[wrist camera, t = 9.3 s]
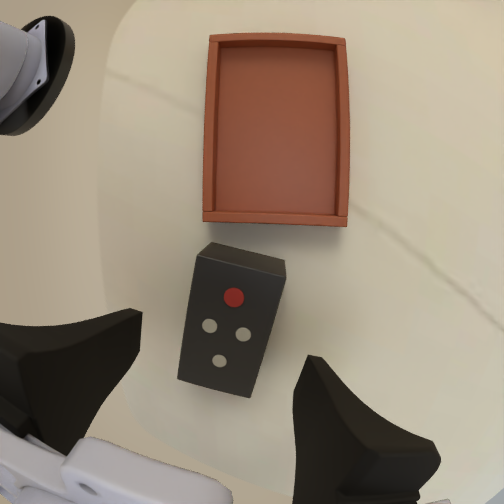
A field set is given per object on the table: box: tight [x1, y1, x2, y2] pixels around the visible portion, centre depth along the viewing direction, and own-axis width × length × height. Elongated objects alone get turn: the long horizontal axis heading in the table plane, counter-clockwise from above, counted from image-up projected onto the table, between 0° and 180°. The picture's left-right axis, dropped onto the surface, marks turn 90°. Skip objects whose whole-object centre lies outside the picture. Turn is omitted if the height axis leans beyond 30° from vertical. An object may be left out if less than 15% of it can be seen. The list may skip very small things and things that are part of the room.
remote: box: [177, 242, 286, 398], centre depth 15 cm, size 7×4×3 cm, turn 167°
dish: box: [203, 33, 350, 227], centre depth 14 cm, size 10×7×1 cm
